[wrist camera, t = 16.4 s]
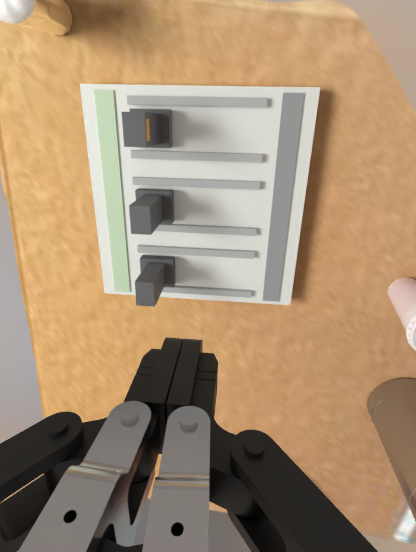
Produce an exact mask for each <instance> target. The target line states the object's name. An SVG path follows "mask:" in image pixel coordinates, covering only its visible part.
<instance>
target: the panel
mask: <svg viewBox="0 0 416 552" xmlns="http://www.w3.org/2000/svg"><path fill="white" fill-rule="evenodd" d="M80 89H81V98H82V106H83V115H84V123H85V131H86V140H87V148H88V157H89V165H90V174H91V182H92V191H93V199H94V207H95V216H96V224H97V233H98V241H99V250H100V258H101V267H102V275H103V284H104V292H105V293H109V294H125V295H136V305H141V306H155V305H156V303H157V301H158V299H159V297H171V298H187V299H202V300H218V301H233V302H249V303H264V304H280V305H290V303H291V296H292V288H293V281H294V274H295V267H296V260H297V252H298V245H299V238H300V231H301V223H302V216H303V209H304V202H305V195H306V187H307V180H308V173H309V166H310V158H311V151H312V144H313V137H314V129H315V122H316V115H317V108H318V101H319V93H320V87H256V86H188V85H120V84H80ZM129 109H170V110H171V112H172V148H144V147H124V138H123V125H122V112H130V110H129Z"/></svg>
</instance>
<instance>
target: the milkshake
mask: <svg viewBox="0 0 416 552" xmlns="http://www.w3.org/2000/svg"><path fill="white" fill-rule="evenodd" d="M0 20H1V21H4V22H7V23H11V24H15V25H19V26H24V27H28V28H32V29H35V30H38V31H42V32H45V33H49V34H52V35H60V36H63V35H65V34H66V33H67V32H68V31H69V30H71V25H72V20H73V17H72V14H71V11H70V7H69V5H68V4H67V3H66V2H64V1H63V0H0Z"/></svg>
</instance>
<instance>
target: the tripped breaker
mask: <svg viewBox="0 0 416 552" xmlns="http://www.w3.org/2000/svg"><path fill="white" fill-rule="evenodd" d="M129 110H130V112H122V125H123V138H124V147H144V148H172V112H171V110H170V109H129Z"/></svg>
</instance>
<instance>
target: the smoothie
mask: <svg viewBox="0 0 416 552" xmlns="http://www.w3.org/2000/svg"><path fill="white" fill-rule="evenodd" d="M388 296H389V298H390V300H391V302H392V304H393V306H394V308H395V310H396V312H397V314H398V316H399V318H400V320H401V322H402V324H403V326H404V328H405V330H406V332H407V333H406V336H407V340H408V342H409V344H410V345H411V347H412V348H414V350H415V351H416V280H415V279H413V278H409V277H403V278H399V279H397V280H395V281H394V282H393V283H392V284H391V285H390V287H389V289H388Z"/></svg>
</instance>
